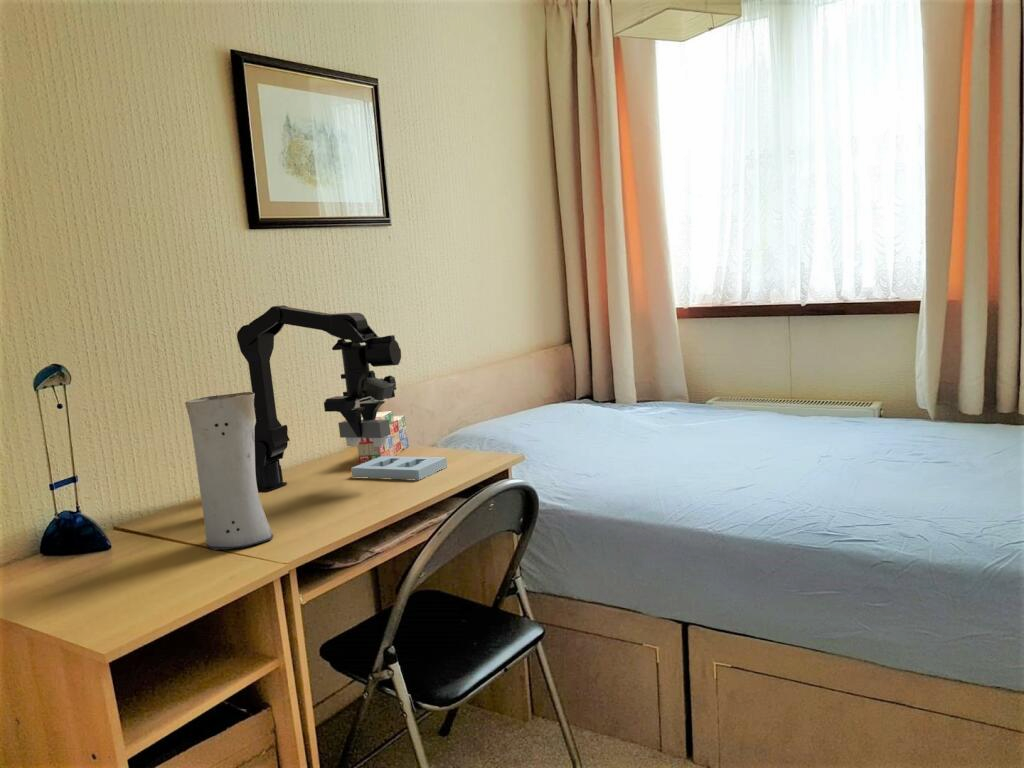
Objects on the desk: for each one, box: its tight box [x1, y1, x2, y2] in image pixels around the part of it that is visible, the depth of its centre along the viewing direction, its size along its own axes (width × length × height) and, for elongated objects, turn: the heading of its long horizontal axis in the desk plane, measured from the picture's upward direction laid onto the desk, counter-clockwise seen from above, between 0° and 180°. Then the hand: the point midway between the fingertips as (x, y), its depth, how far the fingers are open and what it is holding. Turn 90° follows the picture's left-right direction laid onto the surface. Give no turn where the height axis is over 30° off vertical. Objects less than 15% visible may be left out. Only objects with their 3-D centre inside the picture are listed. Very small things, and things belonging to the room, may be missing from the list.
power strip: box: [338, 419, 391, 447], centre depth 180 cm, size 12×4×6 cm, turn 61°
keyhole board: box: [351, 455, 448, 481], centre depth 191 cm, size 20×12×2 cm, turn 62°
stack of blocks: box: [357, 410, 410, 465], centre depth 212 cm, size 21×6×12 cm, turn 169°
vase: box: [184, 391, 274, 552], centre depth 147 cm, size 13×14×28 cm
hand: (365, 435), depth 180 cm, fingers closed on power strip, 3 cm apart
